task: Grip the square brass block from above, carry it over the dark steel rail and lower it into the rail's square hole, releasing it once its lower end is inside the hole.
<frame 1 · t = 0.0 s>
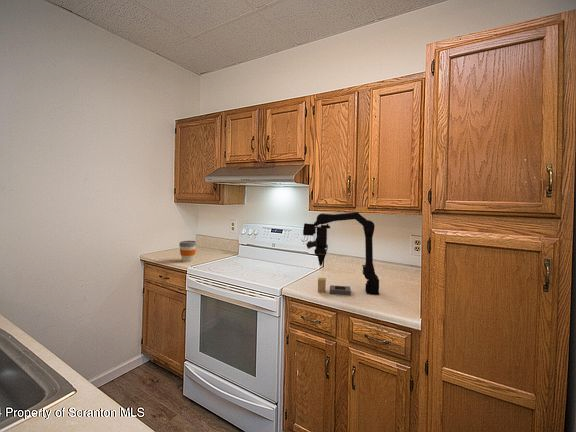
hand: (321, 263, 162), 15 cm above the worktop, tool pointing down, fingers open, 9 cm apart
steel rail: (340, 292, 158), on the worktop
brass block: (321, 291, 160), on the worktop
reusable coffee cup: (188, 261, 227), on the worktop
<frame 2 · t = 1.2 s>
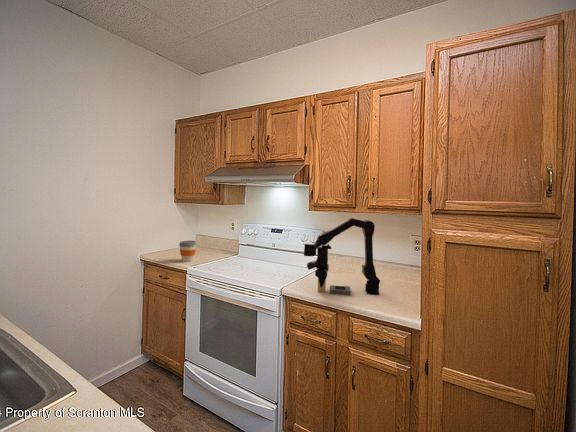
hand: (321, 284, 159), 4 cm above the worktop, tool pointing down, fingers open, 9 cm apart
nothing on the worktop moved.
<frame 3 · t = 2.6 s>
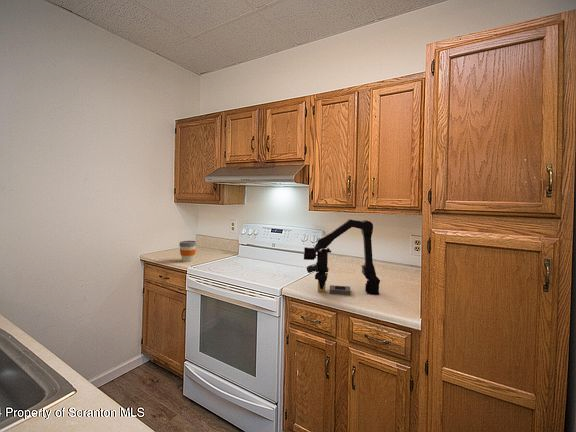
hand: (321, 287, 160), 2 cm above the worktop, tool pointing down, fingers closed on brass block, 4 cm apart
brass block: (321, 291, 160), on the worktop, touching gripper
everything else where it was.
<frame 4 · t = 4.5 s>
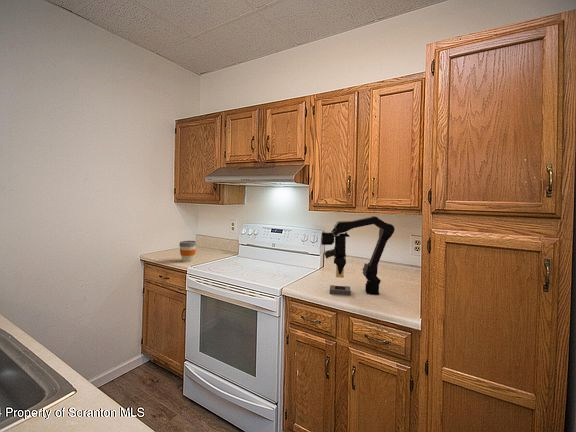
hand: (340, 273, 157), 11 cm above the worktop, tool pointing down, fingers closed on brass block, 4 cm apart
brass block: (339, 276, 157), point 9 cm above the worktop, touching gripper
everything else where it was.
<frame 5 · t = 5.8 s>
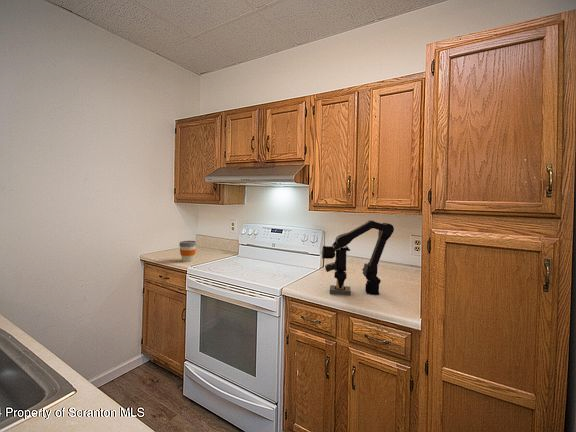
hand: (340, 286, 158), 3 cm above the worktop, tool pointing down, fingers closed on brass block, 4 cm apart
brass block: (340, 290, 158), point 1 cm above the worktop, touching gripper
everything else where it was.
when the fingers open (3 cm above the worktop, at t = 6.7 s): brass block drops 1 cm, resting in steel rail.
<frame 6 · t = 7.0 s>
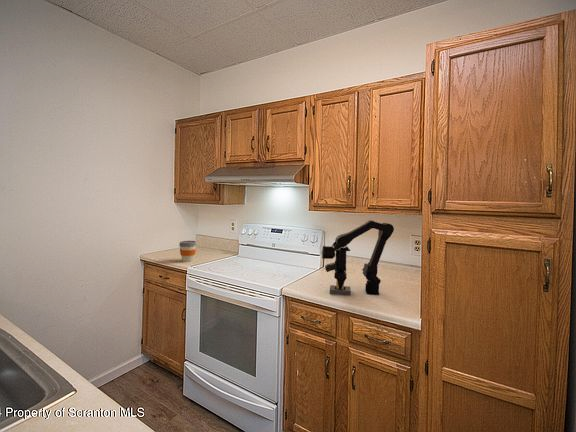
hand: (340, 286, 158), 3 cm above the worktop, tool pointing down, fingers open, 7 cm apart
brass block: (339, 292, 158), resting in steel rail
everything else where it was.
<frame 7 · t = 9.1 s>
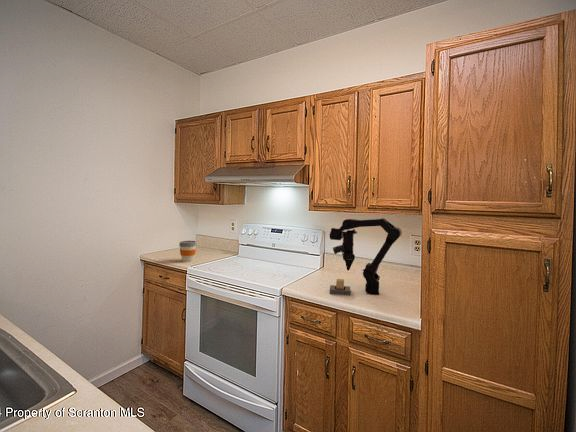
hand: (347, 268, 164), 12 cm above the worktop, tool pointing down, fingers open, 9 cm apart
nothing on the worktop moved.
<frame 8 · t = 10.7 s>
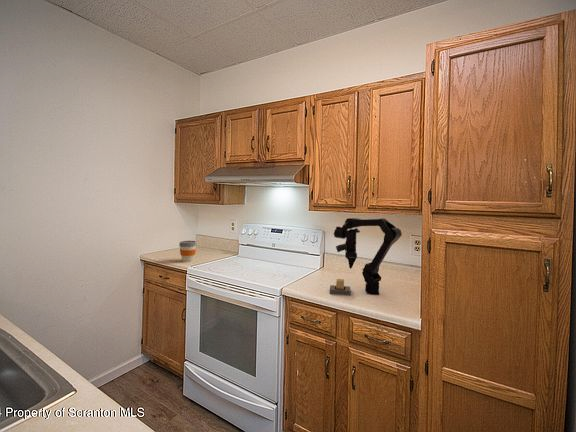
hand: (350, 266, 167), 12 cm above the worktop, tool pointing down, fingers open, 9 cm apart
nothing on the worktop moved.
at the end: brass block 0.0 cm off-centre on the steel rail, point 0.0 cm above the steel rail's base; brass block tilted 0°; the gripper is holding nothing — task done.
